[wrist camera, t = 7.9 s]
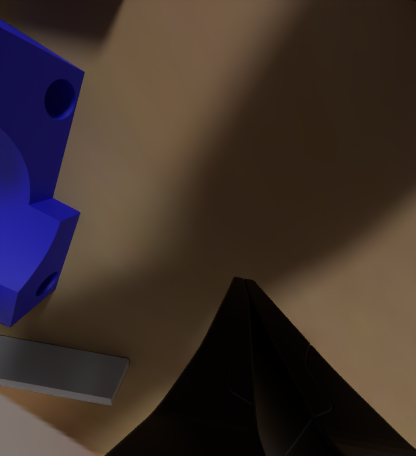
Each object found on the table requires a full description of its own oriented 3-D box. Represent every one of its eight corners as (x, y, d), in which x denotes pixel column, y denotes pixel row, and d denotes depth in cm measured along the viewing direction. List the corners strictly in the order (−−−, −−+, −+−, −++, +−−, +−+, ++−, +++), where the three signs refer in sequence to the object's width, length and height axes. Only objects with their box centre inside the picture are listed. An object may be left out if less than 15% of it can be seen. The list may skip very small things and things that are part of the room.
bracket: (133, -60, 6) (82, -177, 4) (128, 365, 15) (111, 406, 13) (-196, -121, 6) (-434, -272, 4) (-12, 340, 15) (-55, 375, 13)
